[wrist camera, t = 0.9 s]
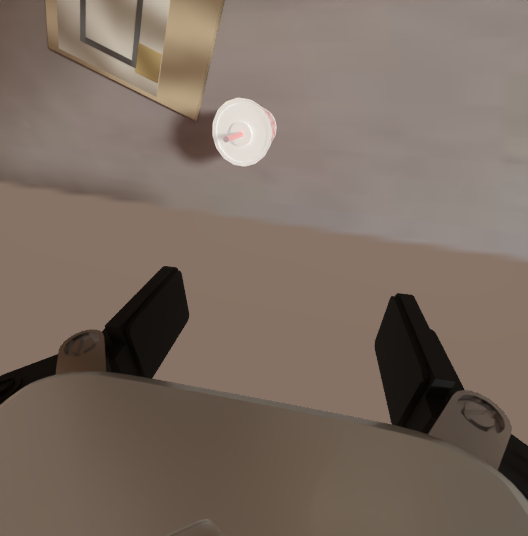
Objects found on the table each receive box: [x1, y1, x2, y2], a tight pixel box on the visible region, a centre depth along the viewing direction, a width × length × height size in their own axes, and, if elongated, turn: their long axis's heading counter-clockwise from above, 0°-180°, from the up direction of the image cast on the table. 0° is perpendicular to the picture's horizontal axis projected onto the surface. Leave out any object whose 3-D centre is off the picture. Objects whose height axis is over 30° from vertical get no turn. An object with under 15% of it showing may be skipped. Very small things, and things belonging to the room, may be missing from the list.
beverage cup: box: [212, 98, 277, 167], centre depth 27 cm, size 6×6×14 cm
